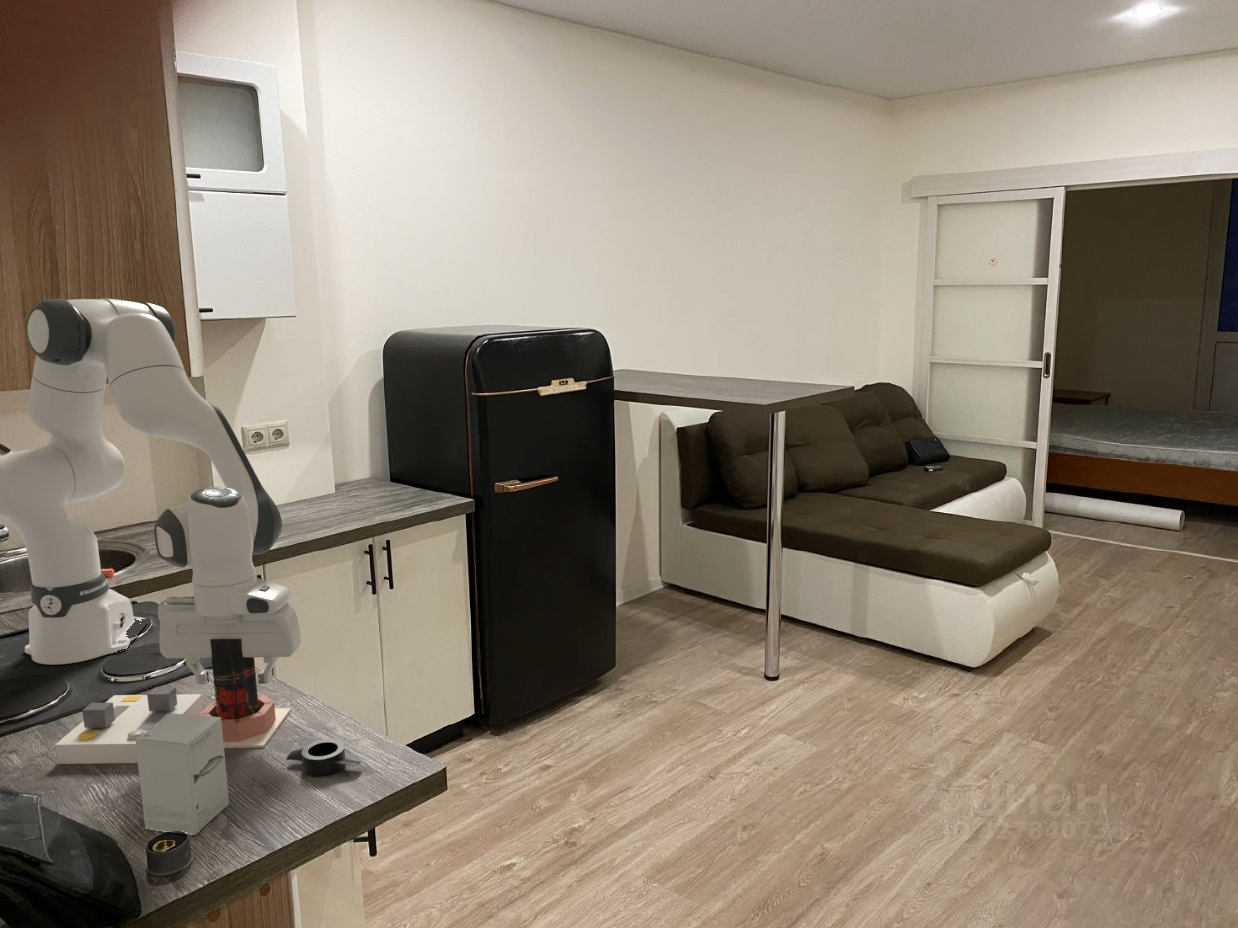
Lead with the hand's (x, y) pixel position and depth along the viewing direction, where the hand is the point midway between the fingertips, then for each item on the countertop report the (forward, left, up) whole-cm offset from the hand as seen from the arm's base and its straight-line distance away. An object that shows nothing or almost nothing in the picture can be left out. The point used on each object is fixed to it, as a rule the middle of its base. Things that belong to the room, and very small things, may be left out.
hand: (234, 682), depth 141 cm
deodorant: (0, 0, -7) cm, 7 cm away
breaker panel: (+2, -15, -8) cm, 17 cm away
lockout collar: (0, 0, -8) cm, 8 cm away
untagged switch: (0, -12, -4) cm, 12 cm away
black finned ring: (+12, +17, -8) cm, 22 cm away
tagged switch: (+5, -19, -4) cm, 20 cm away
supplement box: (+24, +3, -8) cm, 25 cm away
